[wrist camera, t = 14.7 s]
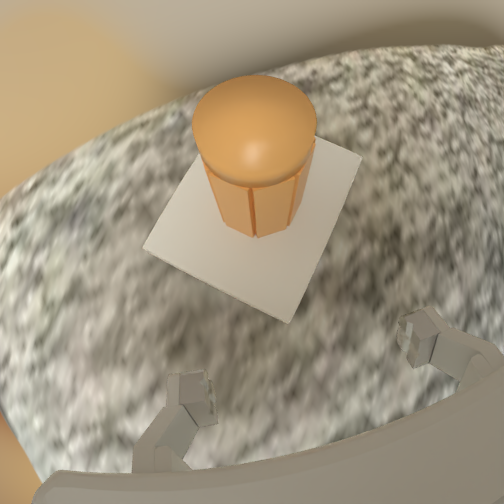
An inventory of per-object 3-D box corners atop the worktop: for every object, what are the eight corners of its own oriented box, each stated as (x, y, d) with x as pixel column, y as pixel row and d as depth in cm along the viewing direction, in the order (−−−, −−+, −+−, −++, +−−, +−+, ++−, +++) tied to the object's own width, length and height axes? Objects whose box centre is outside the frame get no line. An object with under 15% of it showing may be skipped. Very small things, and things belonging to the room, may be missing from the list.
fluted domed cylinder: (241, 151, 21) (229, 64, 13) (311, 181, 20) (333, 98, 12) (203, 214, 20) (168, 143, 12) (277, 249, 19) (285, 191, 11)
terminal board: (234, 116, 23) (225, 59, 17) (357, 167, 22) (382, 116, 16) (149, 253, 21) (110, 223, 15) (287, 324, 19) (298, 319, 13)
